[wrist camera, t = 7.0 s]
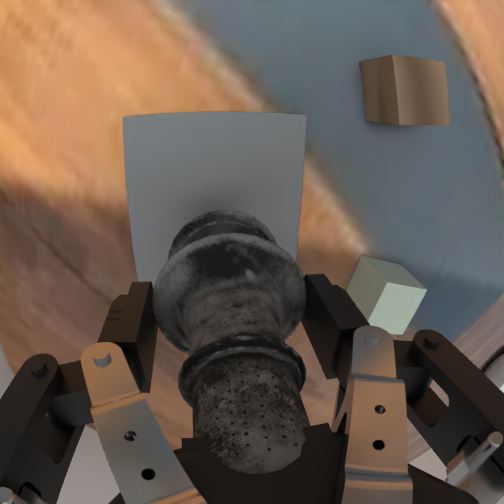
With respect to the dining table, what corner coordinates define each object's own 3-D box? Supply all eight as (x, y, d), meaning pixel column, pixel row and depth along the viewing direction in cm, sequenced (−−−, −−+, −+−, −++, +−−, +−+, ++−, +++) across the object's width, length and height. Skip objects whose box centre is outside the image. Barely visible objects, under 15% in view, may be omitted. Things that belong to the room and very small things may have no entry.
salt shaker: (223, 332, 17) (259, 561, 6) (136, 265, 14) (70, 531, 3) (309, 262, 15) (442, 486, 5) (225, 175, 13) (322, 461, 2)
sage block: (399, 264, 29) (427, 289, 25) (379, 305, 31) (402, 334, 26) (361, 255, 28) (387, 282, 23) (341, 300, 30) (361, 331, 25)
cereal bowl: (517, 360, 47) (534, 379, 41) (465, 407, 50) (480, 429, 43) (523, 319, 40) (545, 340, 34) (462, 376, 42) (482, 403, 36)
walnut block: (407, 65, 21) (444, 62, 16) (413, 119, 23) (450, 125, 18) (358, 62, 20) (392, 54, 16) (365, 120, 23) (399, 125, 18)
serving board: (302, 114, 22) (306, 115, 21) (290, 279, 28) (293, 285, 27) (126, 116, 20) (122, 117, 19) (141, 286, 26) (139, 292, 25)
